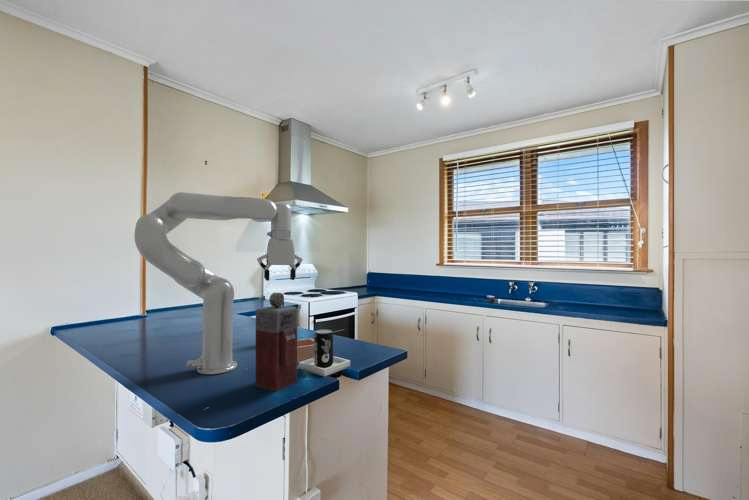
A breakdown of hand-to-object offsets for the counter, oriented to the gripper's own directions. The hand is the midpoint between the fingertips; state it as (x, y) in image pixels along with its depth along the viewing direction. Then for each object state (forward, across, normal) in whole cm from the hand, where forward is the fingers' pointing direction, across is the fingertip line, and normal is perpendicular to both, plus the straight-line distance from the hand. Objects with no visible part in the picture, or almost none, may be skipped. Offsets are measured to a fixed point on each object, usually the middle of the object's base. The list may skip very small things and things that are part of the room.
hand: (280, 280), depth 132 cm
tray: (+30, +11, -20) cm, 37 cm away
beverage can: (+29, +10, -20) cm, 37 cm away
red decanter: (+30, -7, -27) cm, 41 cm away
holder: (+30, +8, -4) cm, 31 cm away
